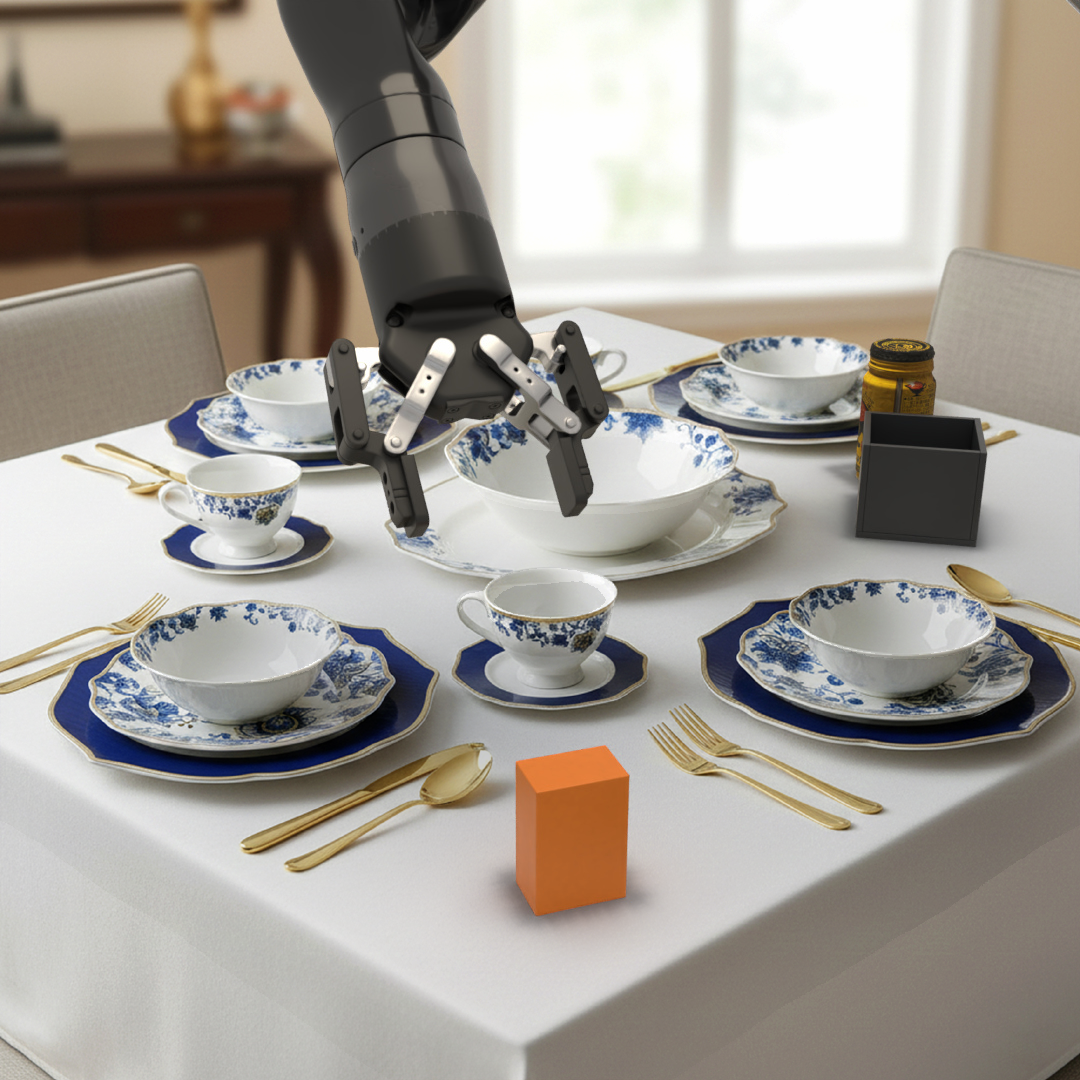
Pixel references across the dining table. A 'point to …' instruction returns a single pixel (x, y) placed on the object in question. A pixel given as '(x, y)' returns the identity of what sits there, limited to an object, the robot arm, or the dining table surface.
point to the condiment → (897, 381)
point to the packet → (571, 829)
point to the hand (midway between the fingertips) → (499, 521)
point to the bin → (921, 478)
